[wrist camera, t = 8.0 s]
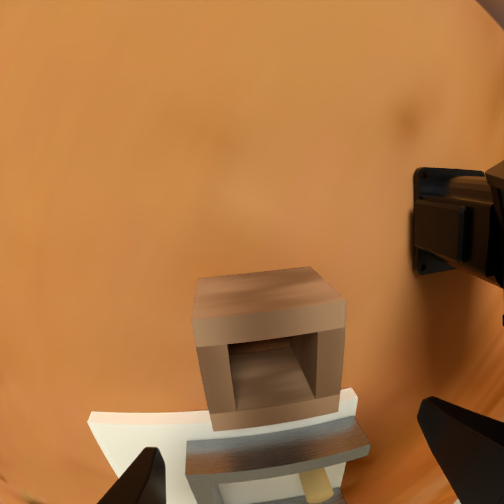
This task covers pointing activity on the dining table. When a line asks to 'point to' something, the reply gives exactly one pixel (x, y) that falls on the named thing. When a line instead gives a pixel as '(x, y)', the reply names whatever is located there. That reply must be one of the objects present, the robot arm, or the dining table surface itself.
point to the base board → (200, 428)
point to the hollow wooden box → (271, 361)
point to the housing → (272, 457)
